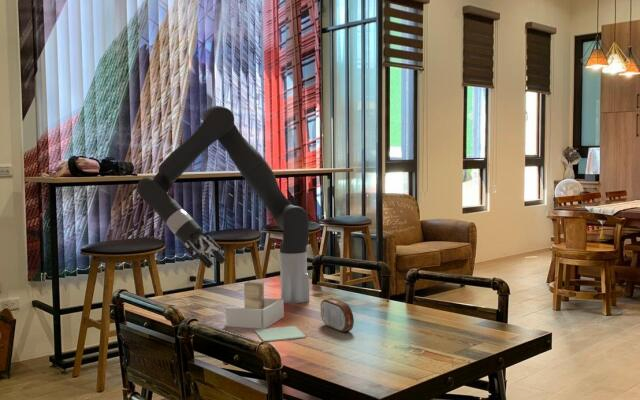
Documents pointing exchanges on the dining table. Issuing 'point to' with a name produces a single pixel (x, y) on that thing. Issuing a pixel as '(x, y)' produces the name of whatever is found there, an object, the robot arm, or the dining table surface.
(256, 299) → the maple block
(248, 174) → the robot arm
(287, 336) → the sage mat
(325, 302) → the tin
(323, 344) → the dining table surface
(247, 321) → the box
